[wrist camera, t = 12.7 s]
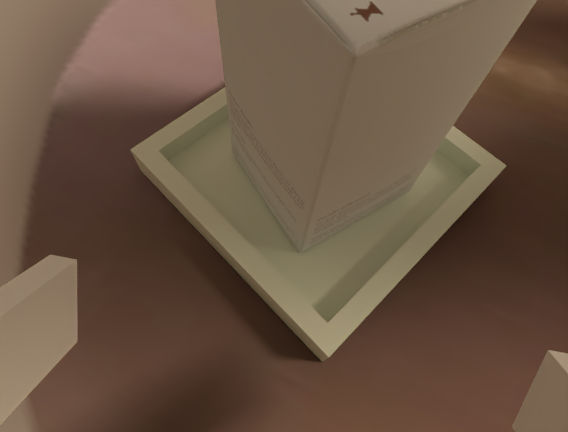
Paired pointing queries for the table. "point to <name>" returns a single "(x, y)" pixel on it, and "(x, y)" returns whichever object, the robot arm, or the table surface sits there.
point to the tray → (324, 255)
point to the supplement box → (350, 96)
